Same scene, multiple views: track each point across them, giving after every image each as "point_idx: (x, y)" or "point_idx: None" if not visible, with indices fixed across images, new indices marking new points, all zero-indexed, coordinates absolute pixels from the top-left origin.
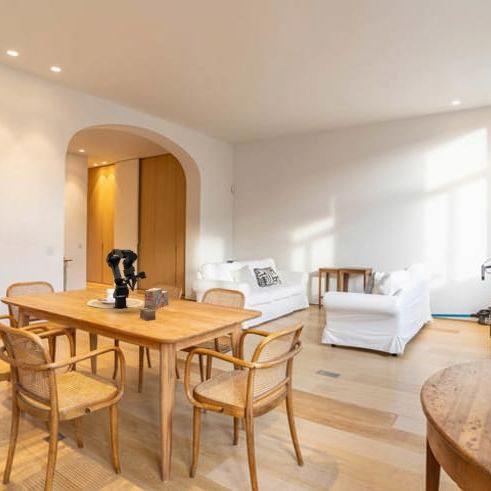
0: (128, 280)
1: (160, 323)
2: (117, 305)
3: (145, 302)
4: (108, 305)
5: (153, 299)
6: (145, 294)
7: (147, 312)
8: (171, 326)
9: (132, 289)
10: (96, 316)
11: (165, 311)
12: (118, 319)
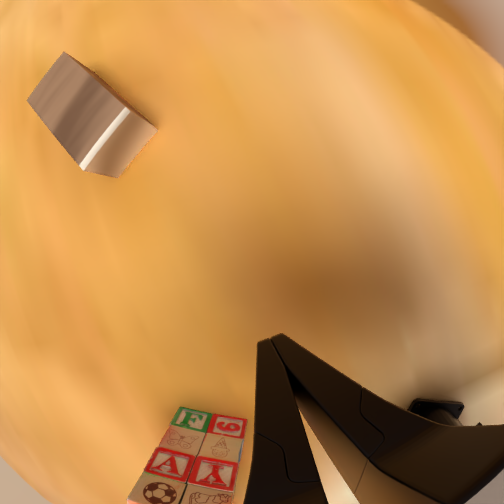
0: (443, 478)
1: (34, 58)
2: (445, 412)
3: (232, 449)
4: None
5: (154, 453)
6: (223, 497)
7: (65, 55)
8: (4, 44)
9: (276, 350)
10: (456, 105)
11: (87, 364)
12: (275, 39)
